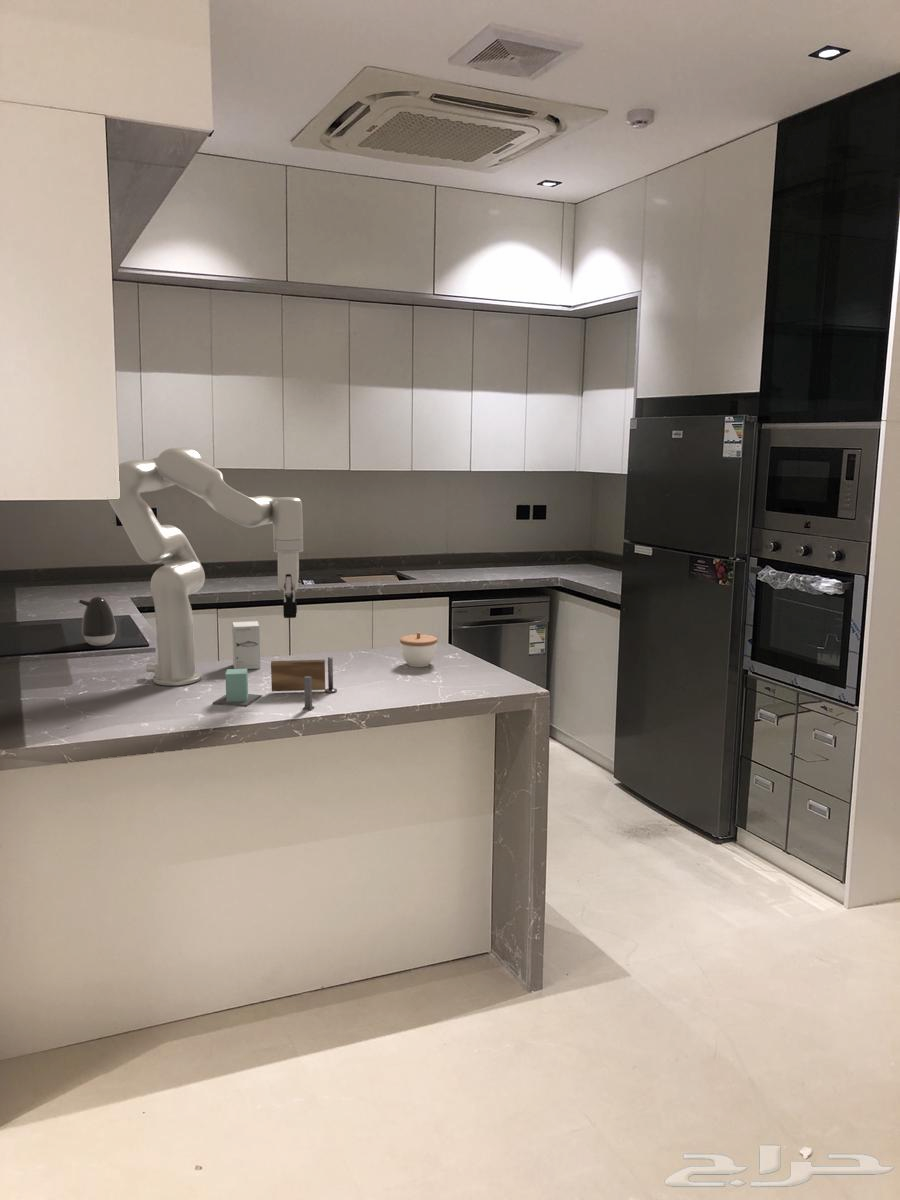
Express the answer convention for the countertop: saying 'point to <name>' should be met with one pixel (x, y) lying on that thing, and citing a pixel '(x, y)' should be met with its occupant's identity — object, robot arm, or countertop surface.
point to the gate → (297, 674)
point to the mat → (238, 703)
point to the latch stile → (308, 693)
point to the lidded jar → (418, 649)
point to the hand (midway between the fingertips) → (290, 614)
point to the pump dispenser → (98, 622)
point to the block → (236, 685)
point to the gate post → (330, 677)
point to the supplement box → (246, 645)
